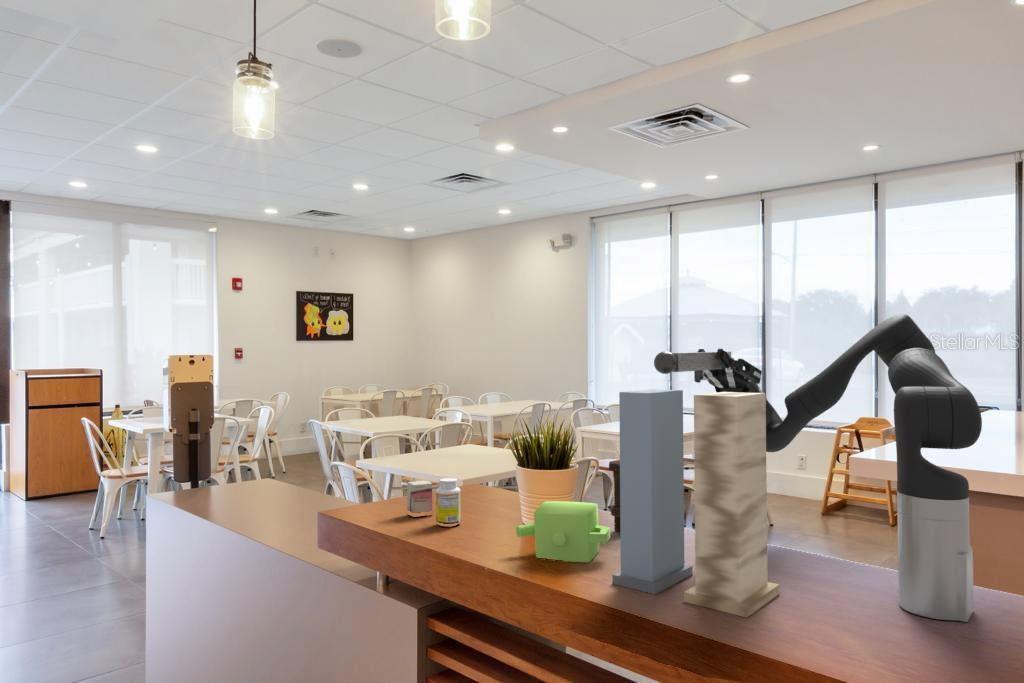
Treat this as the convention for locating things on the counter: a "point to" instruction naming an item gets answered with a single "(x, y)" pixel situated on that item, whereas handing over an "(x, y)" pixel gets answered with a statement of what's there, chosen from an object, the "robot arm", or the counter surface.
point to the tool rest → (730, 503)
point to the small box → (419, 496)
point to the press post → (651, 490)
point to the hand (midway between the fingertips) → (709, 353)
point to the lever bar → (686, 362)
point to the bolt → (616, 493)
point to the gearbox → (566, 531)
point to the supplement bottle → (448, 502)
